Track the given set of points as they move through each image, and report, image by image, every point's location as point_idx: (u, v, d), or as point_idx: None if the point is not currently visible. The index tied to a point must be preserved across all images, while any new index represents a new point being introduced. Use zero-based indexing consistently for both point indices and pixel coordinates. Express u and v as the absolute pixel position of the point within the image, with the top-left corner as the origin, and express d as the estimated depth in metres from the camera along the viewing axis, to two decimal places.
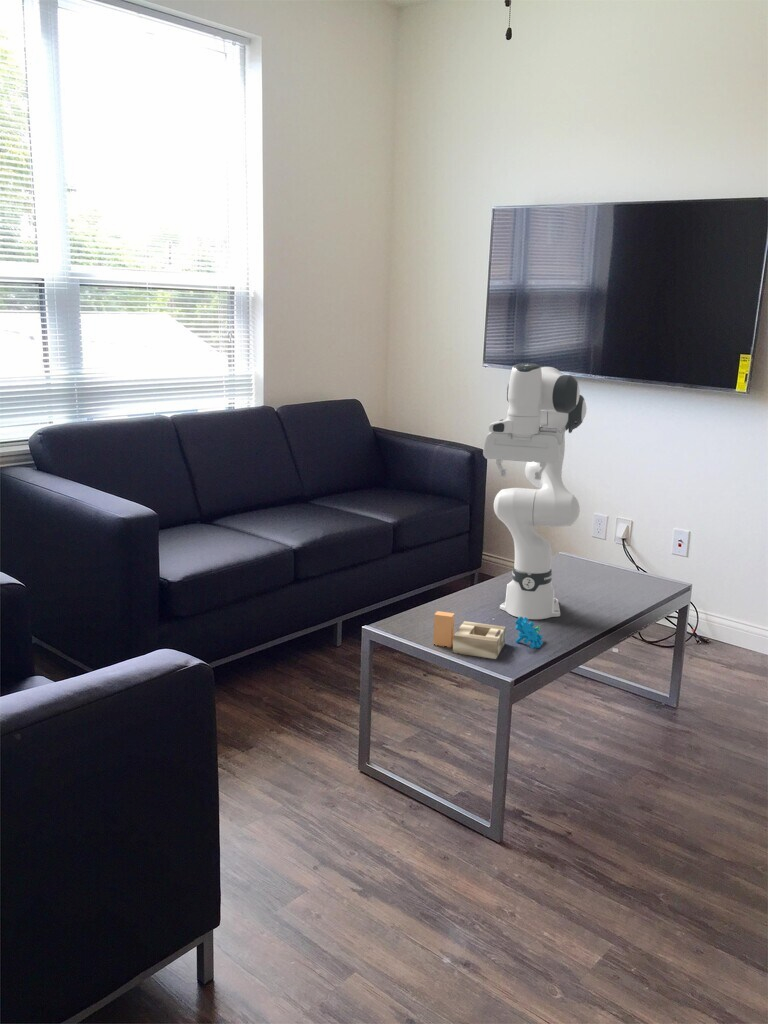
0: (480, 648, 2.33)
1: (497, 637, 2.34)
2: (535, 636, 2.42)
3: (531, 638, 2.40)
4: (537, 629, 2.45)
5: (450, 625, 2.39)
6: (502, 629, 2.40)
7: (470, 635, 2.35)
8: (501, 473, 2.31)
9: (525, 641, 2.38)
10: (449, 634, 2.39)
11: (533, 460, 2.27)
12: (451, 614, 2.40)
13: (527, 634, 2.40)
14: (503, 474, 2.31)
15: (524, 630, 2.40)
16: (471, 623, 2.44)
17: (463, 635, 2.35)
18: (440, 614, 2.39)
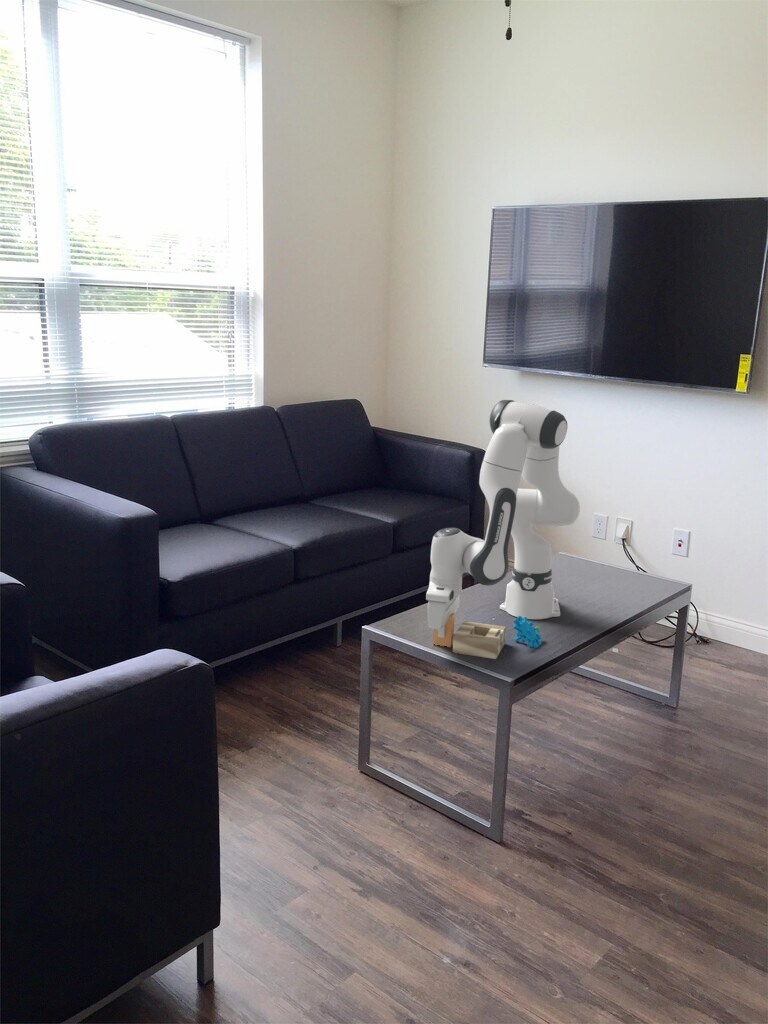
0: (480, 648, 2.33)
1: (497, 637, 2.34)
2: (534, 636, 2.42)
3: (529, 638, 2.41)
4: (536, 629, 2.45)
5: (450, 625, 2.39)
6: (502, 629, 2.40)
7: (470, 635, 2.35)
8: (444, 634, 2.39)
9: (523, 640, 2.38)
10: (449, 634, 2.39)
11: None
12: None
13: (525, 633, 2.41)
14: None
15: (522, 629, 2.41)
16: (471, 623, 2.44)
17: (463, 635, 2.35)
18: None
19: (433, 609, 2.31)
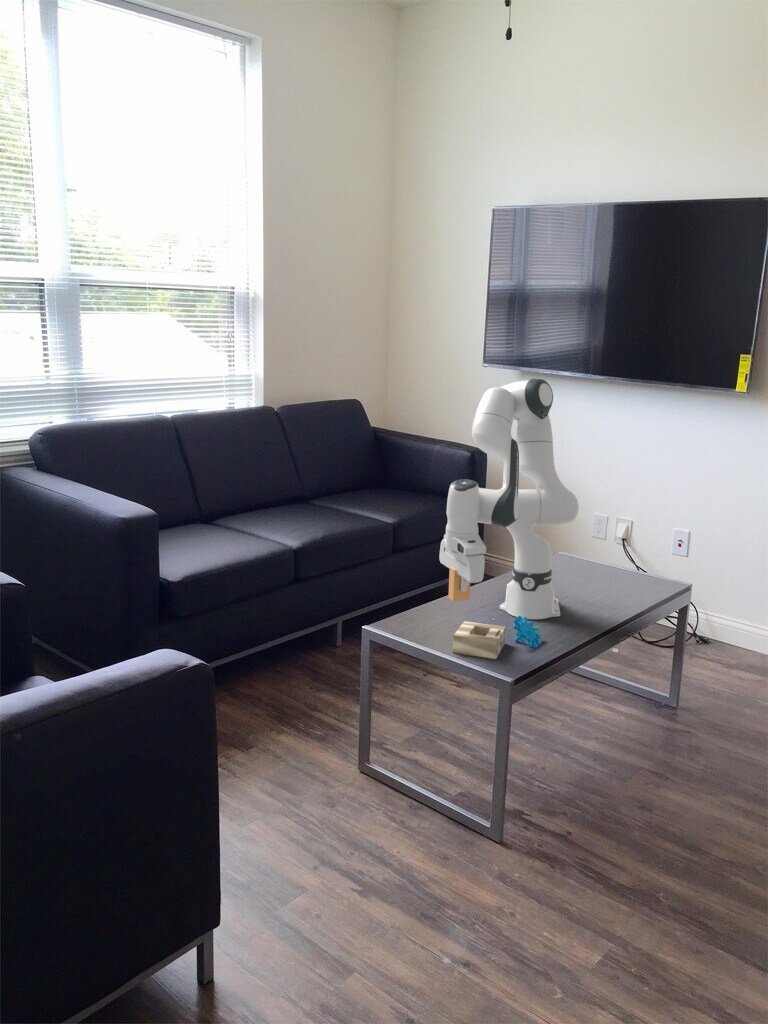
0: (480, 648, 2.33)
1: (497, 637, 2.34)
2: (533, 636, 2.43)
3: (529, 637, 2.41)
4: (536, 629, 2.45)
5: None
6: (502, 629, 2.40)
7: (470, 635, 2.35)
8: None
9: (522, 640, 2.39)
10: (468, 586, 2.37)
11: None
12: None
13: (525, 633, 2.41)
14: None
15: (522, 629, 2.41)
16: (471, 623, 2.44)
17: (463, 635, 2.35)
18: None
19: (475, 563, 2.27)
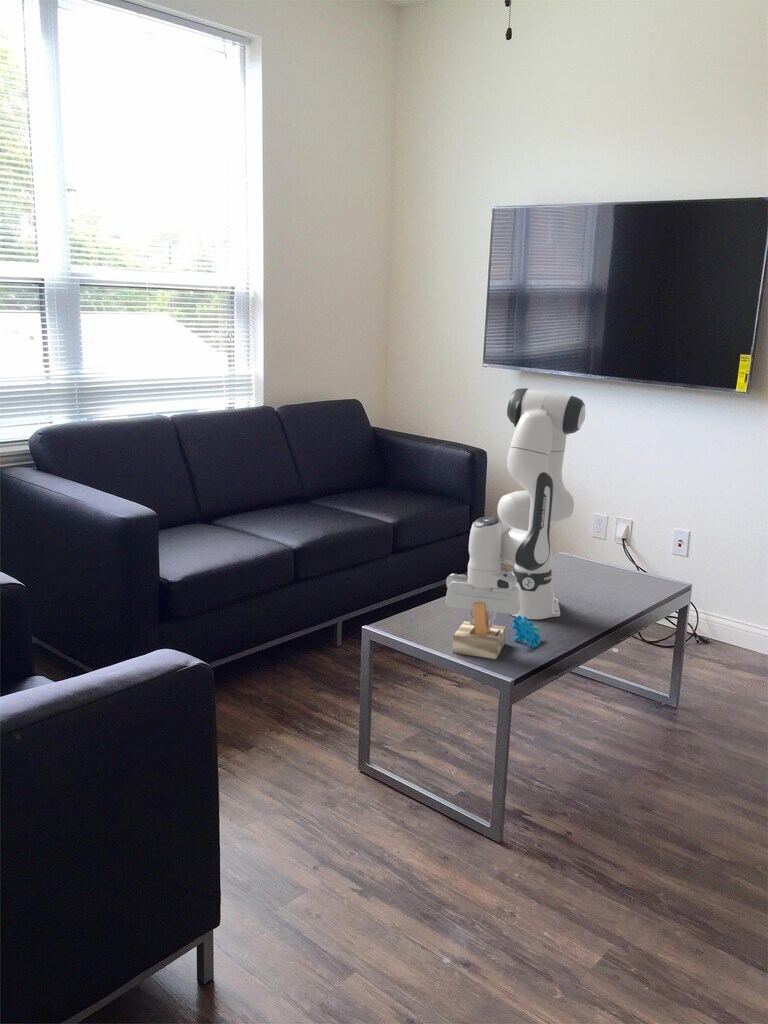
0: (480, 648, 2.33)
1: (497, 637, 2.34)
2: (533, 635, 2.43)
3: (528, 637, 2.41)
4: (536, 629, 2.46)
5: None
6: (502, 629, 2.40)
7: (470, 635, 2.35)
8: None
9: (521, 640, 2.39)
10: (488, 617, 2.39)
11: None
12: None
13: (524, 633, 2.41)
14: None
15: (521, 629, 2.41)
16: None
17: (463, 635, 2.35)
18: None
19: (517, 594, 2.32)
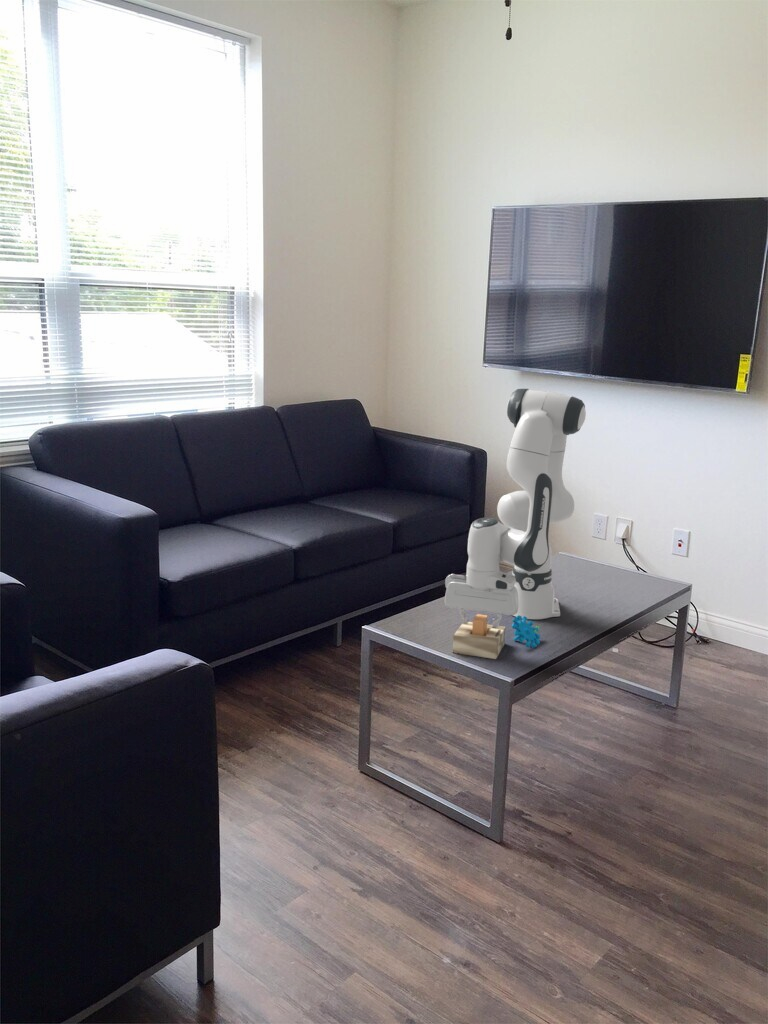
0: (480, 648, 2.33)
1: (497, 637, 2.34)
2: (532, 635, 2.43)
3: (527, 637, 2.41)
4: (536, 628, 2.46)
5: (486, 624, 2.40)
6: (502, 629, 2.40)
7: (470, 635, 2.35)
8: None
9: (520, 640, 2.39)
10: (486, 633, 2.40)
11: None
12: (479, 615, 2.40)
13: (523, 633, 2.41)
14: None
15: (521, 629, 2.41)
16: (471, 623, 2.44)
17: (463, 635, 2.35)
18: (484, 619, 2.37)
19: (516, 595, 2.33)
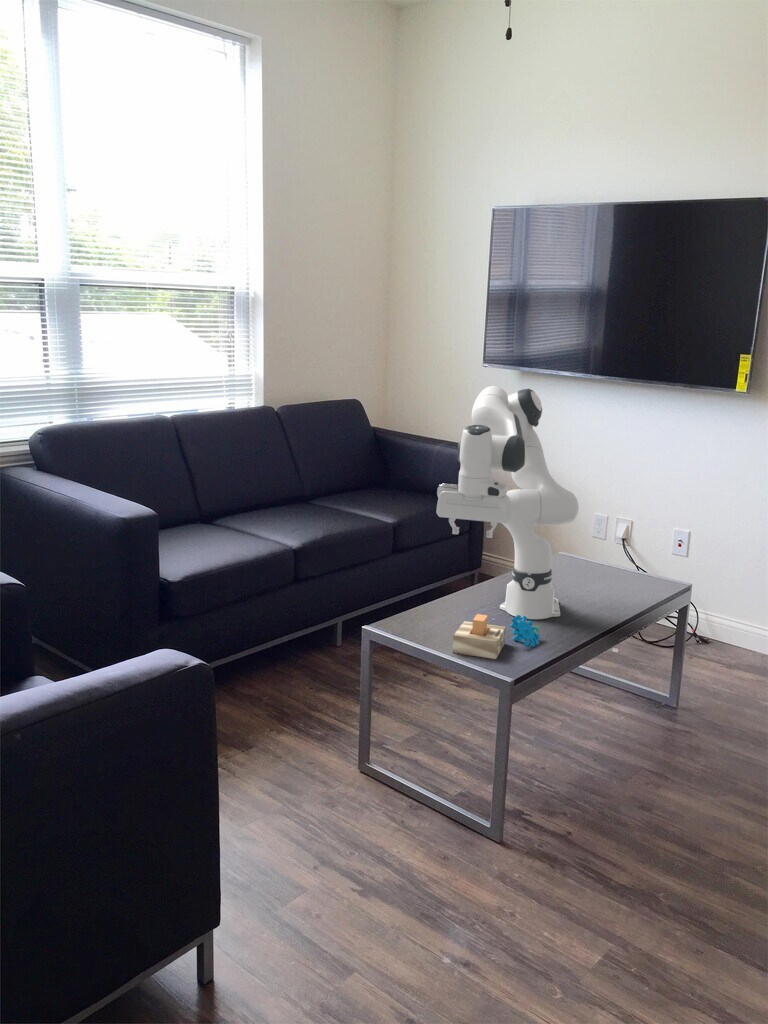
0: (480, 648, 2.33)
1: (497, 637, 2.34)
2: (531, 635, 2.43)
3: (526, 637, 2.41)
4: (535, 628, 2.46)
5: (486, 624, 2.40)
6: (502, 629, 2.40)
7: (470, 635, 2.35)
8: None
9: (518, 639, 2.39)
10: (486, 633, 2.40)
11: None
12: (479, 615, 2.40)
13: (522, 632, 2.41)
14: None
15: (519, 628, 2.42)
16: (471, 623, 2.44)
17: (463, 635, 2.35)
18: (484, 619, 2.37)
19: (508, 503, 2.31)
